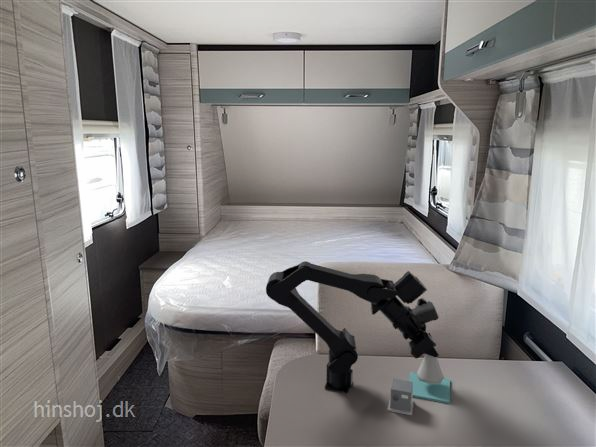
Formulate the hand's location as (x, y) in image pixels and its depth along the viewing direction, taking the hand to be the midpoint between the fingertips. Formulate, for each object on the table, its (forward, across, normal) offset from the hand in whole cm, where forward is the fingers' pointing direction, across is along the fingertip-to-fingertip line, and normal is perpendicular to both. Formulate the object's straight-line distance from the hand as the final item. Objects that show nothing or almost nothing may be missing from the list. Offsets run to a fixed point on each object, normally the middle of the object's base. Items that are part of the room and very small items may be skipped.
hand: (435, 353), depth 120 cm
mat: (+7, 0, +8) cm, 11 cm away
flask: (+5, 0, +6) cm, 8 cm away
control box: (+1, -8, +15) cm, 17 cm away
